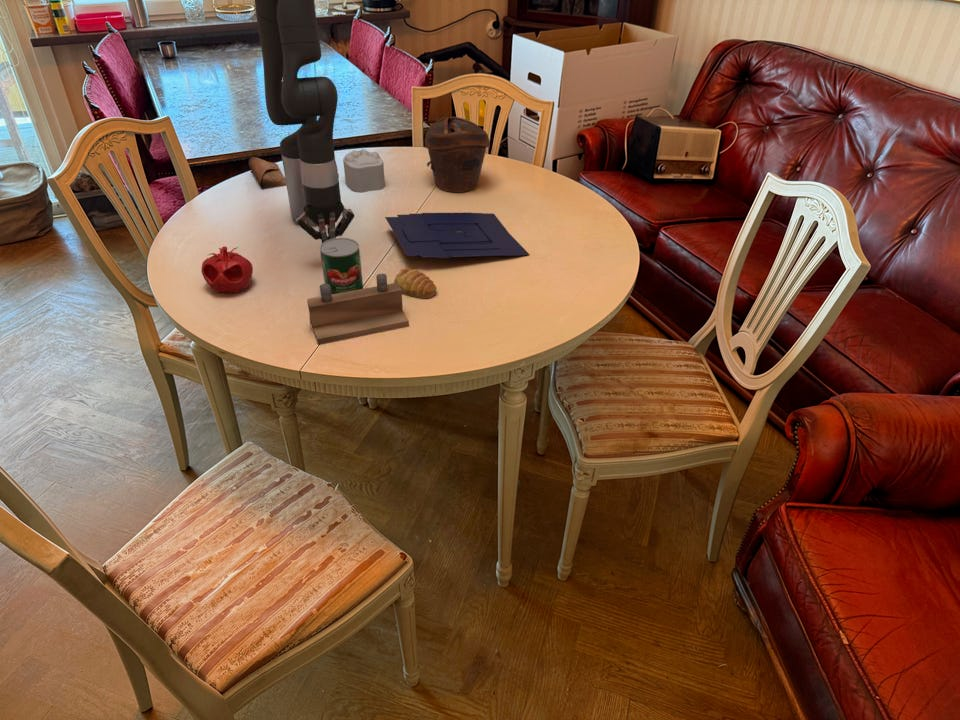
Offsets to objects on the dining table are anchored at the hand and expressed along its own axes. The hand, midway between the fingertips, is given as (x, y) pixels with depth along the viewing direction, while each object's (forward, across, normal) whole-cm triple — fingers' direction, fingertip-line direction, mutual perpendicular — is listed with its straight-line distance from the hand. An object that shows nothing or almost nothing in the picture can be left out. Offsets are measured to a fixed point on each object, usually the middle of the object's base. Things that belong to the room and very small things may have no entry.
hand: (329, 253), depth 141 cm
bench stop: (+3, 0, +26) cm, 26 cm away
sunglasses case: (+3, +6, -57) cm, 57 cm away
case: (+3, -44, -34) cm, 56 cm away
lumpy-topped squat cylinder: (+3, -19, -43) cm, 47 cm away
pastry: (+3, -15, +17) cm, 23 cm away
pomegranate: (+3, +22, +3) cm, 22 cm away
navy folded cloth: (+3, -31, 0) cm, 31 cm away
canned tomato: (+3, 0, +14) cm, 14 cm away
